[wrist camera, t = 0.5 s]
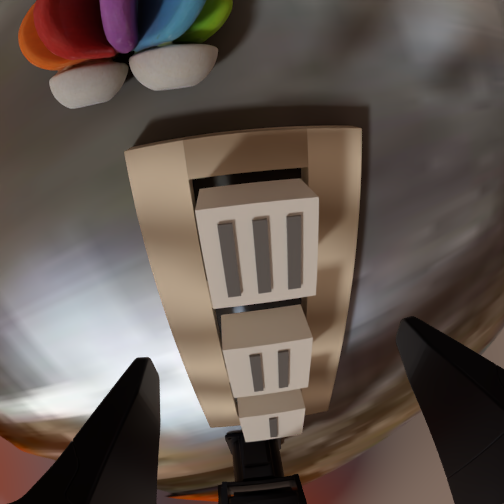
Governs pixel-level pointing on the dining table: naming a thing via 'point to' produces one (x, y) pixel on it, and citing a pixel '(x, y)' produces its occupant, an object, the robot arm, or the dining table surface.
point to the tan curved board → (191, 257)
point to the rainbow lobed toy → (121, 44)
